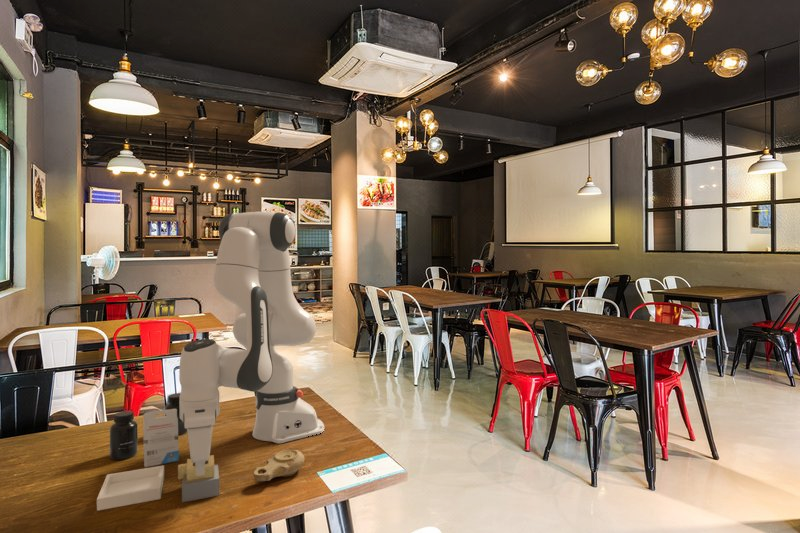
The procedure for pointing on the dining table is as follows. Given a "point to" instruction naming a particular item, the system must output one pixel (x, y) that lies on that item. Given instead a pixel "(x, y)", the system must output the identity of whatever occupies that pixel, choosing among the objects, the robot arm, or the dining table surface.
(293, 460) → the oil lamp
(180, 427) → the supplement bottle
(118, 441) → the supplement bottle
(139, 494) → the tray
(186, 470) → the tan square frame block
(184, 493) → the grey pegged cube
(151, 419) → the ink box
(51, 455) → the dining table surface
